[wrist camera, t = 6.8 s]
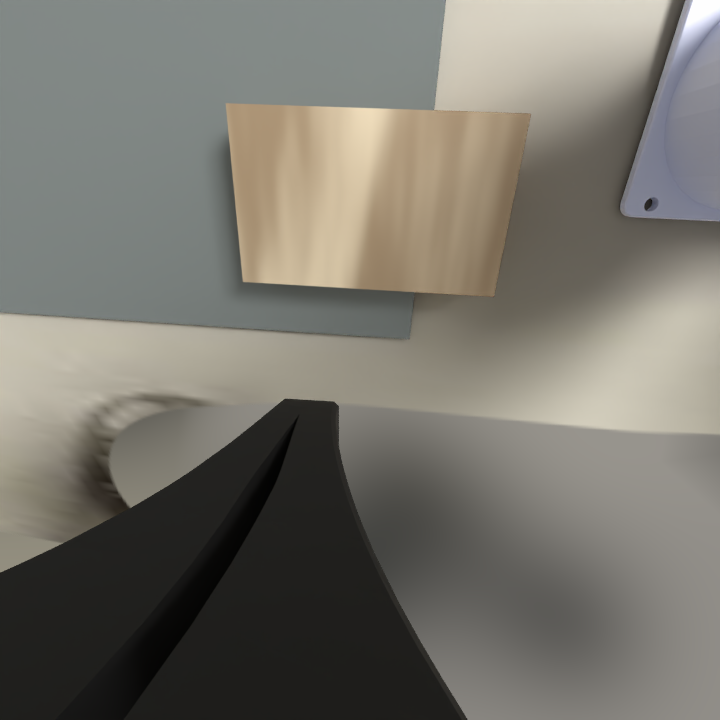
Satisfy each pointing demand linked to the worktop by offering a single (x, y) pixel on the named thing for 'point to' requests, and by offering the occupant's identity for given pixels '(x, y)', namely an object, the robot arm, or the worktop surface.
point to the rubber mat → (180, 149)
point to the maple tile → (374, 196)
